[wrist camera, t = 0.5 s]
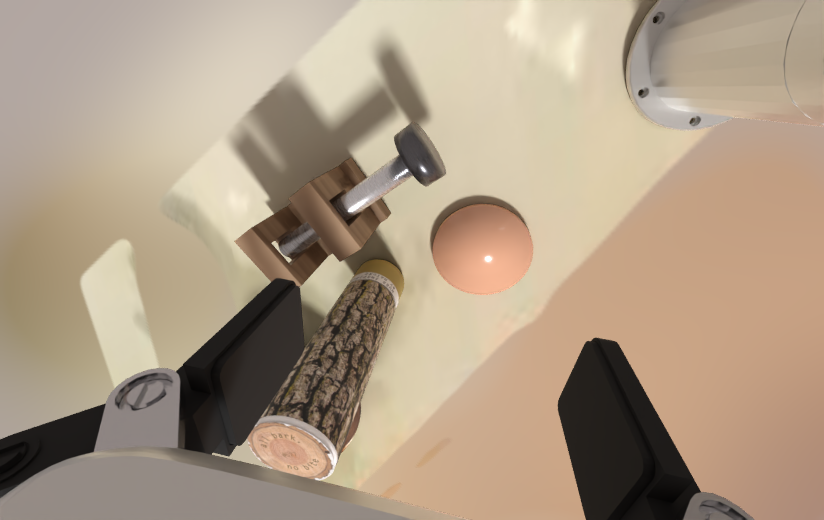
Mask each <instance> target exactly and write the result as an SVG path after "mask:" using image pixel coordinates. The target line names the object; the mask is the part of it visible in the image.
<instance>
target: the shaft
mask: <svg viewBox="0 0 824 520" xmlns="http://www.w3.org/2000/svg"><path fill="white" fill-rule="evenodd" d="M394 141H395V145H396V148H397V150H398V152H399V155H398V156H396V157H395V158H394V159H392V160H391V161H389V162H388V163H387V164H385V165H384V166H382V167H381V168H380V169H378V170H377V171H376V172H374V173H373V174H371V175H370V176H369V177H367V178H366V179H365V180H363V181H362V182H360V183H359V184H358V185H356V186H355V187H354V188H352V189H351V190H349V191H348V192H347V193H345V194H344V195H343V196H341V197H340V198H338V199H337V200H336V201H334V202H333V203H332V205H333V207H334V208H335V209H336V211H337V212H338V213H339V214H340V216H341V217H342V218H343V220H344V221H345V222H346V221H347V220H349V219H350V218H352V217H353V216H354V215H356V214H357V213H359V212H360V211H362V210H363V209H365V208H366V207H368V206H369V205H371V204H372V203H374V202H375V201H377V200H378V199H380V198H381V197H383V196H384V195H385V194H387V193H388V192H390V191H391V190H393V189H394V188H396V187H397V186H399V185H400V184H402V183H403V182H405V181H406V180H408V179H409V178H411V177H412V176H414V177H415V178H416V179H417V180H418V181H419V182H420V183H421V184H422V185H424V186H429V185H430V184H432V183H433V182H435V181H436V180H438V179H439V178H441V177H443V176H444V175H445V174H446V170H445V166H444V164H443V161H442V159H441V157H440V155H439V153H438V151H437V150H436V148H435V146H434V145H433V143H432V142H431V140H430V139H429V137H428V136H427V134H426V133H425V132H424V131H423V129H422V128H421V127H420V126H419V125H418V124H417V123H415V122H412V123H411V124H409V125H408V126H407V127H405V128H404V129H403V130H402V131H400V132H399V133H398V134H396V135H395V136H394ZM319 239H321V238H320V237H319V236H318V234H317V233H316V232H315V231H314V230H313V228H312V227H311V226H310V225H309V224H308V222H305V223H304V224H303V225H301V226H300V227H298V228H297V229H296V230H294V231H293V232H292V233H290V234H289V235H287V236H286V237H285V238H283V239H282V240H281V241H280V242H279V249H280V251H281V252H282V253H283V254H284V255H285V256H287V257H290V258H292V257H294V256H295V255H297V254H298V253H300V252H301V251H303V250H304V249H306V248H307V247H309V246H310V245H312V244H313V243H315V242H316V241H318V240H319Z"/></svg>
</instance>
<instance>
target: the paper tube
mask: <svg viewBox="0 0 824 520" xmlns="http://www.w3.org/2000/svg"><path fill="white" fill-rule="evenodd" d="M403 288H404V279H403V276H402V274H401V272H400V271H399V269H398V268H397V267H396V266H394V265H393V264H391V263H390V262H388V261H385V260H379V259H374V260H370V261H367V262H365V263H364V264H363V265H361V266H360V268H359V269H358V271H357V272H356V274H355V275H354V277H353V278H352V279H351V281H350V282H349V284H348V285H347V287H346V288H345V290H344V291H343V293H342V294H341V295H340V297H339V298H338V300H337V301H336V303H335V304H334V306H333V307H332V309H331V310H330V312H329V313H328V315H327V316H326V318H325V319H324V321H323V322H322V324H321V325H320V327H319V328H318V330H317V331H316V332H315V334H314V335H313V337H312V338H311V340H310V341H309V343H308V344H307V346H306V347H305V349H304V351H303V354H302V356H301V357H300V359H299V360H298V362H297V363H296V365H295V366H294V368H293V369H292V371H291V372H290V374H289V375H288V377H287V378H286V380H285V381H284V383H283V385H282V386H281V388H280V389H279V391H278V392H277V394H276V395H275V397H274V398H273V400H272V401H271V403H270V404H269V406H268V407H267V409H266V410H265V412H264V413H263V415H262V416H261V418H260V419H259V421H258V422H257V424H256V425H255V427H254V428H253V430H252V431H251V433H250V434H249V436H248V444H249V446H250V448H251V450H252V451H253V453H254V454H255V456H256V457H257V458H258V459H259V460H260V461H261V462H263V463H264V464H265V465H266V466H268V467H269V468H271V469H274V470H278V471H282V472H286V473H290V474H294V475H298V476H302V477H306V478H310V479H314V480H322V479H325V478H327V477H329V476H330V475H331V474H332V473H333V471H334V468H335V466H336V464H337V462H338V459H339V456H340V454H341V451H342V449H343V446H344V443H345V441H346V438H347V435H348V433H349V430H350V428H351V425H352V422H353V420H354V417H355V415H356V412H357V409H358V407H359V404H360V401H361V399H362V396H363V394H364V391H365V388H366V386H367V383H368V381H369V378H370V375H371V373H372V370H373V367H374V365H375V362H376V360H377V357H378V354H379V352H380V349H381V346H382V344H383V341H384V339H385V336H386V333H387V331H388V328H389V326H390V323H391V320H392V318H393V315H394V312H395V310H396V307H397V305H398V301H399V299H400V296H401V294H402V291H403Z"/></svg>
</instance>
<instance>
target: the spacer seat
mask: <svg viewBox="0 0 824 520" xmlns="http://www.w3.org/2000/svg"><path fill="white" fill-rule="evenodd" d="M532 256H533V244H532V240H531V236H530V233H529V231H528V229H527V227H526V225H525V224H524V223H523V221H522V220H521V219H520V218H519V217H518V216H517V215H515V214H514V213H513V212H511V211H509V210H508V209H505V208H503V207H500V206H497V205H492V204H474V205H469V206H466V207H463V208H461V209H459V210H457V211H455V212H454V213H452V214H451V215H450V216H448V217H447V218H446V219H445V220H444V222H443V223H442V224H441V226H440V227H439V229H438V231H437V233H436V236H435V239H434V243H433V259H434V263H435V266H436V268H437V270H438V271H439V273H440V275H441V276H442V277H443V278H444V279H445V280H446V281H447V282H448V283H449V284H450V285H452V286H453V287H455V288H457V289H459V290H461V291H464V292H467V293H471V294H478V295H488V294H494V293H498V292H501V291H504V290H506V289H508V288H510V287H512V286H513V285H515V284H516V283H517V282H518V281H519V280H520V279H521V278H522V277H523V276H524V275H525V273H526V272H527V270H528V268H529V266H530V264H531V261H532Z"/></svg>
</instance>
